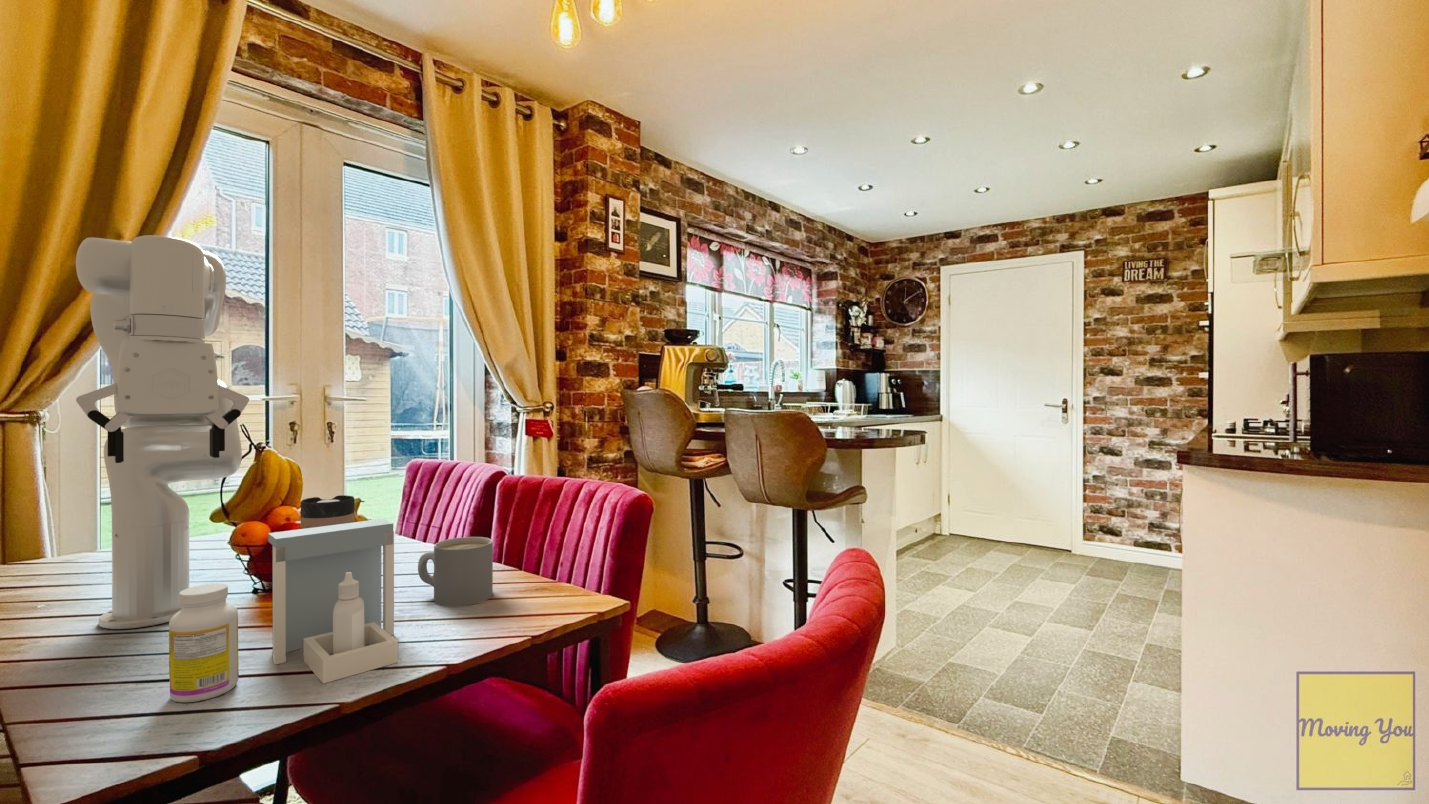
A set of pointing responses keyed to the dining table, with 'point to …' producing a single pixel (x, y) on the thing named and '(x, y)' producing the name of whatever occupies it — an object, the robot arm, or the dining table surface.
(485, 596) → the coffee mug
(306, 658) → the socket
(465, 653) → the dining table surface
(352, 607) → the eye dropper bottle
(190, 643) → the supplement bottle
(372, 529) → the roller blind
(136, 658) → the dining table surface
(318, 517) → the travel mug
